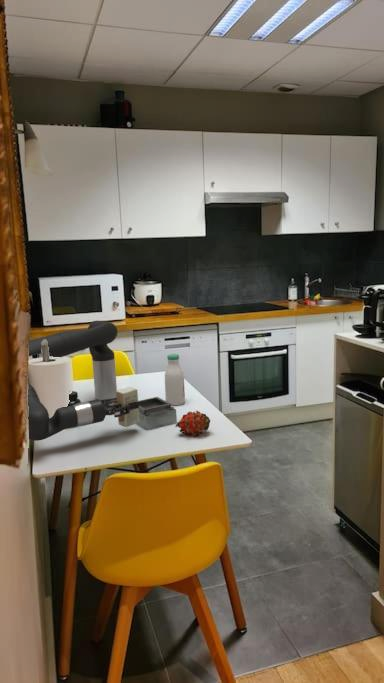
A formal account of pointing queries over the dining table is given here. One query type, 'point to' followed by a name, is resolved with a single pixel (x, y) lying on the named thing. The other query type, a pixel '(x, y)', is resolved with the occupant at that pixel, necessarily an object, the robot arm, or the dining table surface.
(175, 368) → the milk bottle
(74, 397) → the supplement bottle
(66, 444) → the dining table surface
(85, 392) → the dining table surface
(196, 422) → the dragon fruit
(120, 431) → the dining table surface
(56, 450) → the dining table surface
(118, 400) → the skincare box
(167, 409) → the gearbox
